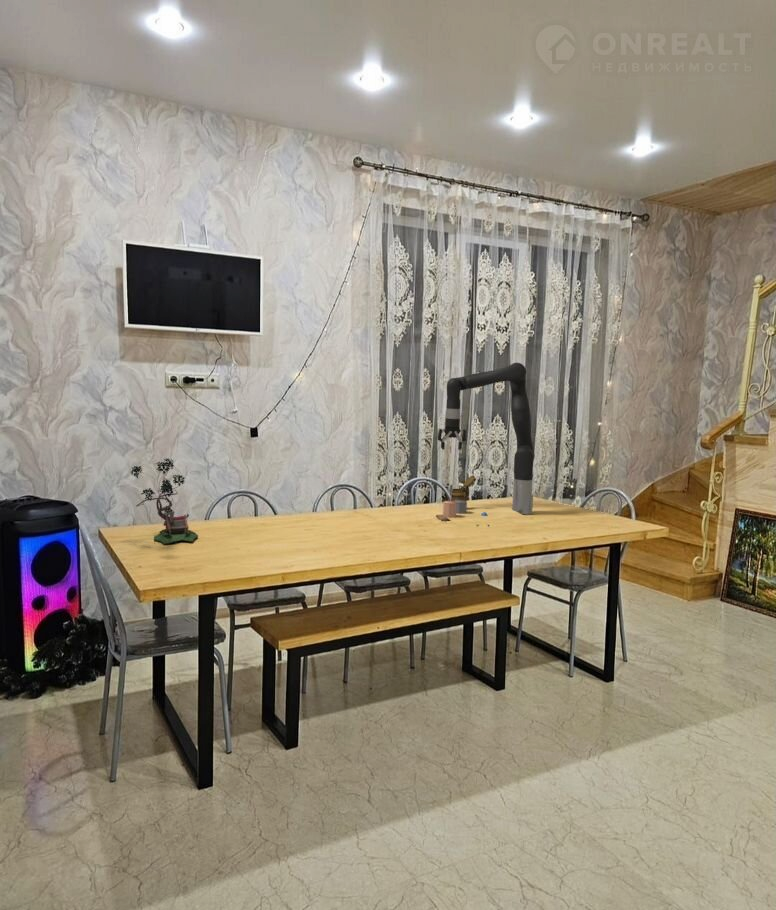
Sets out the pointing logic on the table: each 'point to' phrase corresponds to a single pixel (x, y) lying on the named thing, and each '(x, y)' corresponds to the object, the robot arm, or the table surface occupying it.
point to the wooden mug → (462, 490)
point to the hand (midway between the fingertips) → (451, 449)
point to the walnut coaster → (442, 518)
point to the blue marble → (484, 514)
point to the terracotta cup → (449, 509)
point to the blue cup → (461, 506)
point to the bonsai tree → (174, 525)
